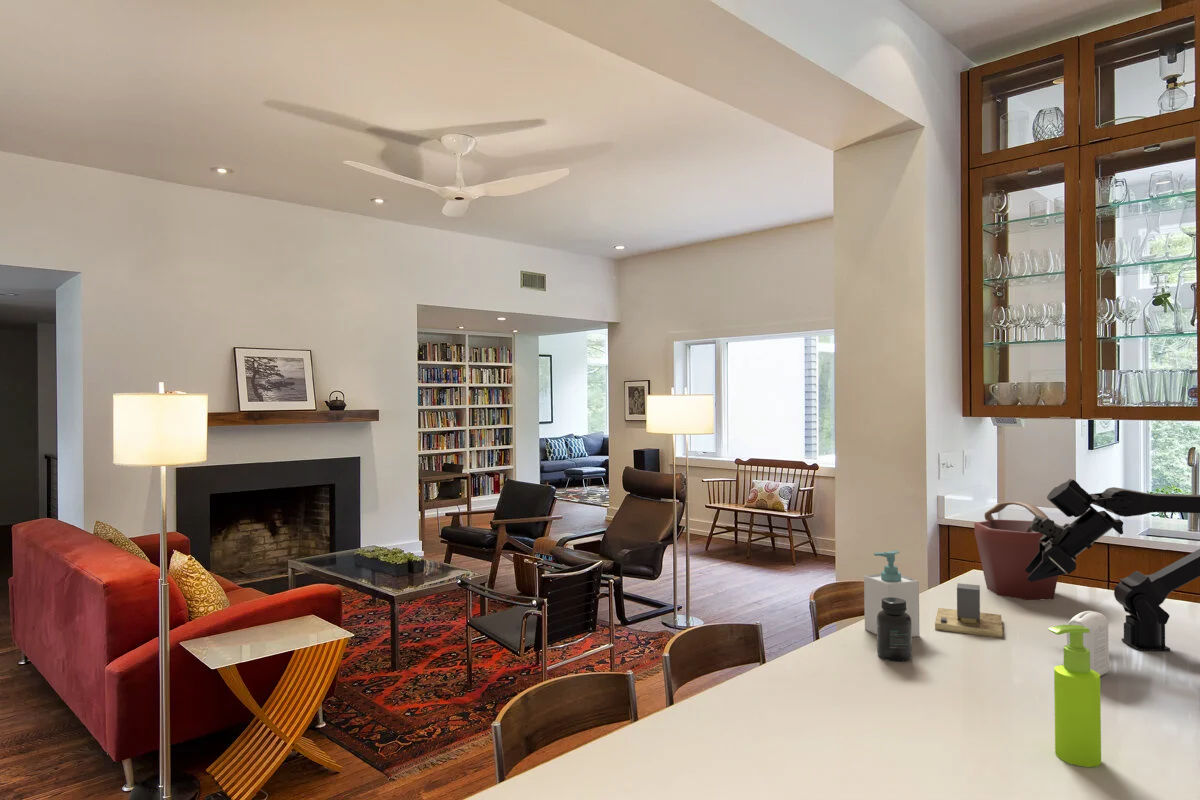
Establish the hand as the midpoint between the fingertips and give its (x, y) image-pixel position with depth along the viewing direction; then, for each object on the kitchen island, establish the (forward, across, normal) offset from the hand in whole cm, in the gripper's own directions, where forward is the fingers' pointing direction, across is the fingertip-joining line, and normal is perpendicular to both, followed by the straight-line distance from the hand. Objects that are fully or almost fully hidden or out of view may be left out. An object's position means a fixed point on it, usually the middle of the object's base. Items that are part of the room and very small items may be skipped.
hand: (1027, 575), depth 168 cm
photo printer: (+3, +23, +16) cm, 28 cm away
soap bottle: (+30, +12, -10) cm, 34 cm away
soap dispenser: (+7, +63, +12) cm, 65 cm away
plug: (+18, -2, +1) cm, 18 cm away
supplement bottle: (+28, +28, -8) cm, 41 cm away
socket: (+18, -2, +1) cm, 18 cm away
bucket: (+9, -42, +10) cm, 44 cm away
